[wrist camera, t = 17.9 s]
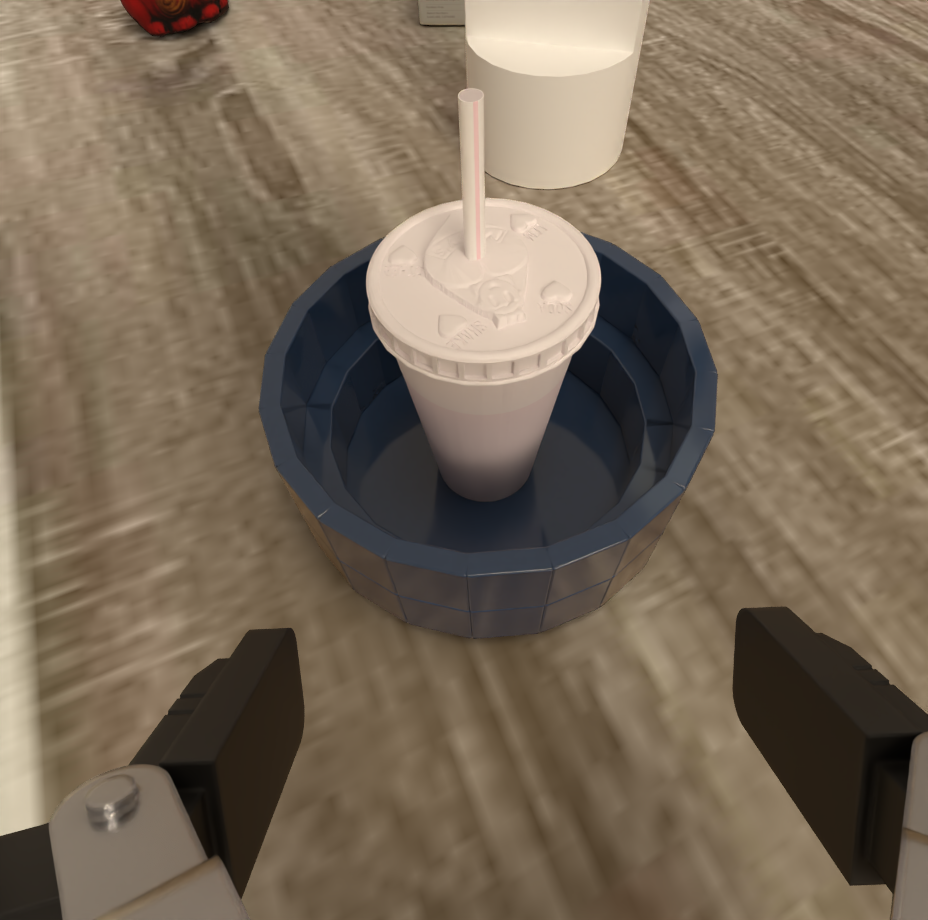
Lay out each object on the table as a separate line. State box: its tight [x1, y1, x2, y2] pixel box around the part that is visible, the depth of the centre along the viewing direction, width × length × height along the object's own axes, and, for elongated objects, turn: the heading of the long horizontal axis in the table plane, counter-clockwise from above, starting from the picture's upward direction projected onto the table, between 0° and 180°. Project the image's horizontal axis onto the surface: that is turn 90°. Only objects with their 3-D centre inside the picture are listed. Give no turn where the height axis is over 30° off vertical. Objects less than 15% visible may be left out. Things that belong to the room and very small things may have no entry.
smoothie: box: [366, 88, 601, 502], centre depth 19 cm, size 6×6×14 cm
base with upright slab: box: [464, 0, 650, 189], centre depth 33 cm, size 9×9×12 cm
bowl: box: [259, 231, 718, 639], centre depth 23 cm, size 14×14×6 cm
